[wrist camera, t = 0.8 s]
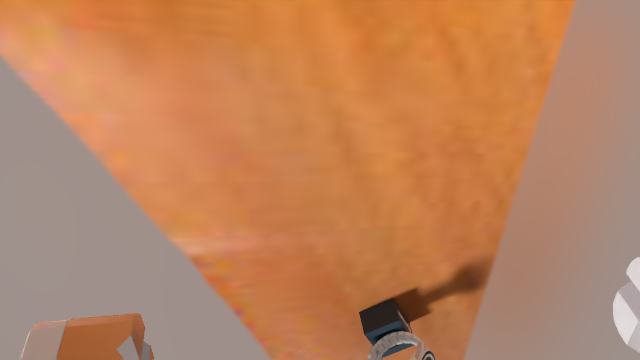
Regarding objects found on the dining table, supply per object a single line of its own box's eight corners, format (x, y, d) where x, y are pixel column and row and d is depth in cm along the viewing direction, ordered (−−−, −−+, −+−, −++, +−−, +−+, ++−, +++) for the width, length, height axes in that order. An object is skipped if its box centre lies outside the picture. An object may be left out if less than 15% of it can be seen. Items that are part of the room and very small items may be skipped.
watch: (424, 316, 69) (452, 400, 61) (363, 341, 71) (383, 426, 62) (408, 291, 66) (436, 376, 57) (345, 317, 67) (363, 403, 59)
